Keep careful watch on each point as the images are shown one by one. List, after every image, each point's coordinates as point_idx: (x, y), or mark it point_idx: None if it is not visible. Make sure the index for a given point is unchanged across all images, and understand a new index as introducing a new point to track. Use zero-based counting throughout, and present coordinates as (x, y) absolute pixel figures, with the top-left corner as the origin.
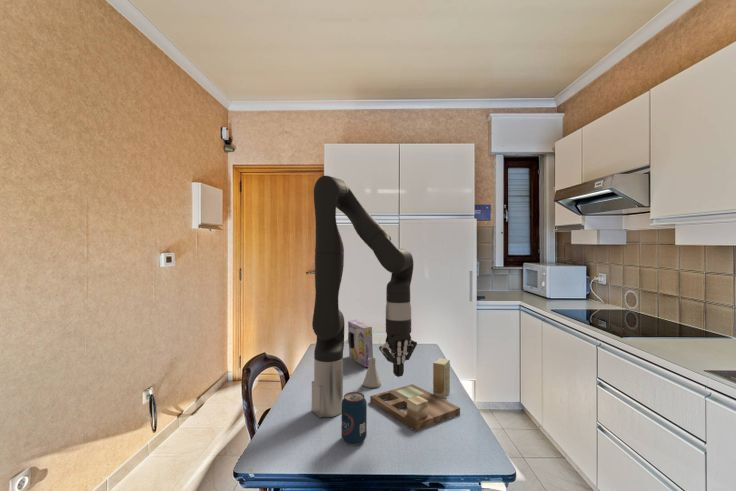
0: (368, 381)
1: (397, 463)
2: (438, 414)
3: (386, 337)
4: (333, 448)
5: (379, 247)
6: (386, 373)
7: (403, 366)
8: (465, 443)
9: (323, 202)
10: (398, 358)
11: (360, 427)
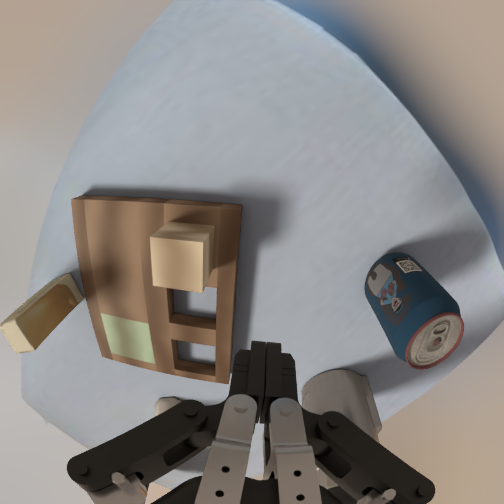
0: None
1: (389, 135)
2: (138, 207)
3: None
4: (434, 276)
5: None
6: (123, 411)
7: (233, 380)
8: (179, 79)
9: None
10: (290, 434)
11: (417, 267)
